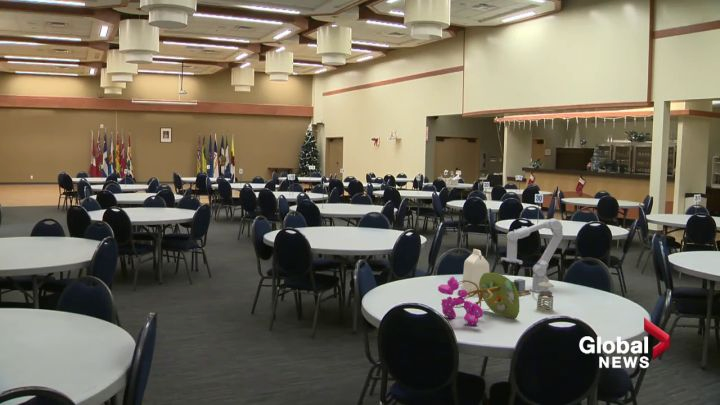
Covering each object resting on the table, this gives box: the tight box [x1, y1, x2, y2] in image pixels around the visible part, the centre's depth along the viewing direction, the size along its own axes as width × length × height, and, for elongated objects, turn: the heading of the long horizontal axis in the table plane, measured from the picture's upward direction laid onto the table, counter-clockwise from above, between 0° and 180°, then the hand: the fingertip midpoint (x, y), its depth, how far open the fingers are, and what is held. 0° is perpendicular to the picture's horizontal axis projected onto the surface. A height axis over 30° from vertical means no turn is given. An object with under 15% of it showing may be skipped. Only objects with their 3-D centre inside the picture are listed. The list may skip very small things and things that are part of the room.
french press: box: [531, 263, 556, 315], centre depth 333 cm, size 10×12×25 cm
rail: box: [512, 281, 532, 297], centre depth 372 cm, size 18×10×8 cm, turn 127°
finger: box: [513, 278, 526, 292], centre depth 374 cm, size 4×6×7 cm
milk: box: [461, 248, 490, 298], centre depth 369 cm, size 12×12×26 cm
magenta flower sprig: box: [437, 272, 520, 326], centre depth 313 cm, size 30×28×35 cm
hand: (511, 274), depth 383 cm, fingers open, 7 cm apart
